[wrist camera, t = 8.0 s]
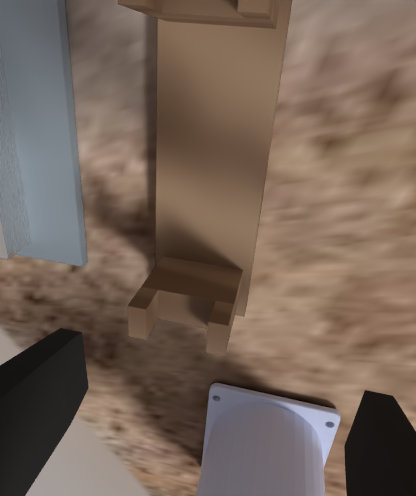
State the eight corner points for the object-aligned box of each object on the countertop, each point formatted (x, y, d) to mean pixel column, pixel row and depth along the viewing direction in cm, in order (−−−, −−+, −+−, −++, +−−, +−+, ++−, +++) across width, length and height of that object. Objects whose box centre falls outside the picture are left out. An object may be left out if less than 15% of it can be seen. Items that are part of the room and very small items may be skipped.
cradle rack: (246, 306, 20) (231, 379, 16) (160, 289, 21) (120, 355, 16) (300, -59, 13) (303, -132, 8) (167, -63, 14) (98, -132, 9)
